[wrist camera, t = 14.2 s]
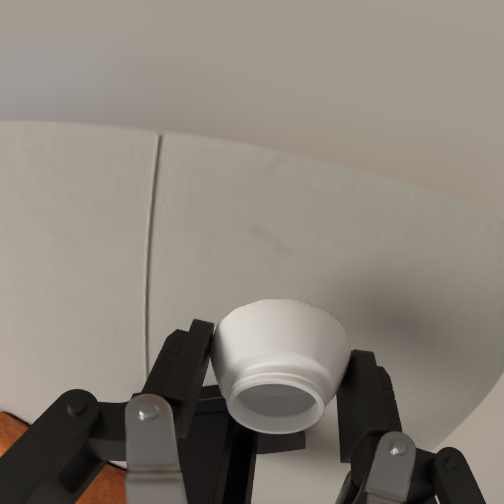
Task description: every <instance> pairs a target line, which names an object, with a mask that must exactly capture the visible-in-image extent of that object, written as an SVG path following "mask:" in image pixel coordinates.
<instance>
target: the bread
mask: <svg viewBox="0 0 504 504" xmlns="http://www.w3.org/2000/svg"><path fill="white" fill-rule="evenodd" d="M28 428H29V426H28V425H26V424H24V423H22V422H21V421H19V420H17V419H15V418H13V417H11V416H10V415H8V414H6V413H4V412H0V457H1V456H2V455H3V454H4V453H5V452H6V451H7V450H8V449H9V448H10V447H11V446H12V445H13V444H14V443H15V441H16V440H17V439H18V438H19V437H20V436H21V435H22V434H23V433H24V432H25V431H26V430H27V429H28ZM125 472H126V471H124V470H121V469H118V468H115V467H113V466H111V465H108V464H106V465H105V466H104V467H103V469H102V470H101V471H100V473H99V474H98V475H97V476H96V478H95V479H94V480H93V482H92V483H91V484H90V485H89V487H88V488H87V489H86V490H85V492H84V493H83V494H82V496H81V497H80V498H79V499H78V501H77V502H76V503H75V504H127V501H126V489H125Z"/></svg>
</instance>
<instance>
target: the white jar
mask: <svg viewBox="0 0 504 504" xmlns="http://www.w3.org/2000/svg"><path fill="white" fill-rule="evenodd" d="M209 354H210V358H211V363H212V368H213V371H214V374H215V376H216V379H217V382H218V385H219V388H220V391H221V393H222V395H223V397H224V398H225V399H226V404H227V408H228V411H229V413H230V414H231V416H232V417H233V418H234V419H235V420H236V421H237V422H238V423H240V424H241V425H243V426H245V427H247V428H249V429H252V430H255V431H258V432H263V433H269V434H289V433H294V432H299V431H302V430H305V429H307V428H309V427H311V426H313V425H314V424H315V423H317V422H318V421H319V420H320V419H321V417H322V416H323V414H324V410H325V407H326V405H327V404H328V403H329V402H330V401H331V400H332V399H333V397H334V396H335V394H336V392H337V390H338V388H339V386H340V384H341V383H342V381H343V379H344V377H345V375H346V373H347V370H348V366H349V361H350V355H351V347H350V343H349V341H348V338H347V336H346V333H345V331H344V328H343V326H342V324H340V323H339V322H338V321H337V320H336V319H334V318H333V317H332V316H331V315H330V314H328V313H327V312H326V311H325V310H324V309H322V308H319V307H316V306H313V305H310V304H307V303H304V302H301V301H298V300H295V299H262V300H259V301H256V302H253V303H250V304H247V305H244V306H241V307H238V308H236V309H234V310H233V311H232V312H231V313H230V314H229V315H228V316H226V317H225V318H224V319H223V320H222V321H221V322H220V323H218V325H217V327H216V330H215V333H214V336H213V338H212V341H211V345H210V350H209Z"/></svg>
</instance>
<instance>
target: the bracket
mask: <svg viewBox="0 0 504 504" xmlns="http://www.w3.org/2000/svg"><path fill="white" fill-rule="evenodd" d="M139 394H140V393H135V394H133V395H132V397H131V399H132V398H134V397H136V396H138V395H139ZM131 399H130V400H131ZM305 448H306V436H305V435H304V433H303V431H299V432H294V433H289V434H269V433H263V432H258V431H255V430H252V429H249V428H247V427H245V426H243V425H241V424H240V423H238V422H237V421H236V420H235V419H234V418H233V417H232V416H231V414H230V413H229V411H228V408H227V404H226V399H225V398H224V397H223V395H222V393H221V391H220V388H219V385H212V386H205V387H202V388H201V392H200V395H199V398H198V402H197V405H196V408H195V412H194V415H193V418H192V422H191V425H190V429H189V432H188V435H187V439H183V438H179V439H178V443H177V451H178V458H179V464H180V469H181V472H182V476H183V481H184V487H185V492H186V498H187V503H188V504H251V497H252V489H253V480H254V472H255V463H256V454H266V453H276V452H284V451H292V450H299V449H305Z"/></svg>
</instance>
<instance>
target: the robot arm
mask: <svg viewBox="0 0 504 504" xmlns="http://www.w3.org/2000/svg"><path fill="white" fill-rule="evenodd" d="M213 332H214V323H211V322H207V321H202V320H198V319H194V320H193V322H192V325H191V327H190V329H189V332H187V331H183V330H179V329H177V330H175V331H174V332H173V333H172V334H170V335H169V336H168V337H167V338H166V340H165V342H164V345H163V347H162V350H161V351H160V353H159V355H158V358H157V359H156V362H155V364H154V366H153V368H152V370H151V372H150V375H149V377H148V379H147V381H146V383H145V385H144V388H143V390H142V391H141V393H140V394H139V395H138V396H136V397H134V398H132V399H131V400H130V401H128V402H123V403H108V402H98V401H97V399H96V398H95V397H94V395H92V394H91V393H90V392H88V391H85V390H81V389H73V390H69V391H67V392H65V393H63V394H62V395H61V396H60V397H59V398H58V399H57V400H56V401H55V402H54V403H53V404H52V405H51V406H50V407H49V408H48V409H47V410H46V411H45V412H44V413H43V414H42V415H41V416H40V417H39V418H38V419H37V420H36V421H35V422H34V423H33V424H32V425H31V426H30V427H29V428H28V429H27V430H26V431H25V432H24V433H23V434H22V435H21V436H20V437H19V438H18V439H17V440H16V441H15V443H14V444H13V445H12V446H11V447H10V448H9V449H8V450H7V451H6V452H5V453H4V454H3V455H2V456H1V457H0V504H75V503H76V502H77V501H78V499H79V498H80V497H81V496H82V494H83V493H84V492H85V490H86V489H87V488H88V487H89V485H90V484H91V483H92V482H93V480H94V479H95V478H96V476H97V475H98V474H99V473H100V471H101V470H102V469H103V467H104V466H105V465H106V464H107V462H108V461H109V460H112V461H127V471H126V472H125V489H126V501H127V504H188V503H187V498H186V492H185V487H184V481H183V476H182V472H181V469H180V464H179V458H178V451H177V443H178V439H179V438H183V439H187V435H188V432H189V429H190V425H191V422H192V418H193V415H194V412H195V408H196V405H197V402H198V398H199V395H200V392H201V388H202V385H203V381H204V378H205V375H206V371H207V368H208V364H209V360H210V354H209V350H210V345H211V341H212V338H213ZM392 389H393V387H392V383H391V379H390V376H389V375H388V373H387V372H386V371H385V369H384V368H383V367H381V366H377V364H376V360H375V356H374V353H373V352H370V351H363V350H356V349H354V350H352V352H351V355H350V361H349V366H348V370H347V373H346V375H345V377H344V379H343V381H342V383H341V384H340V386H339V388H338V390H337V392H336V397H337V410H338V424H339V440H340V460H341V463H351V470H350V471H349V473H348V474H347V476H346V478H345V481H344V483H343V486H342V488H341V491H340V493H339V496H338V498H337V500H336V503H335V504H437V501H436V499H435V496H436V495H437V497H438V500H439V502H440V504H486V503H485V500H484V498H483V496H482V493H481V491H480V489H479V487H478V485H477V482H476V480H475V478H474V476H473V474H472V472H471V470H470V468H469V465H468V464H467V461H466V459H465V457H464V456H463V454H462V453H461V452H460V451H459V450H457V449H455V448H453V447H445V448H443V449H441V450H440V451H439V452H438V453H437V454H435V453H432V452H428V451H424V450H421V449H418V448H416V447H415V444H414V442H413V440H412V439H411V438H410V437H409V436H408V435H406V434H404V433H403V431H402V427H401V422H400V418H399V413H398V409H397V404H396V400H395V399H394V398H395V396H394V391H393V390H392Z"/></svg>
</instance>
